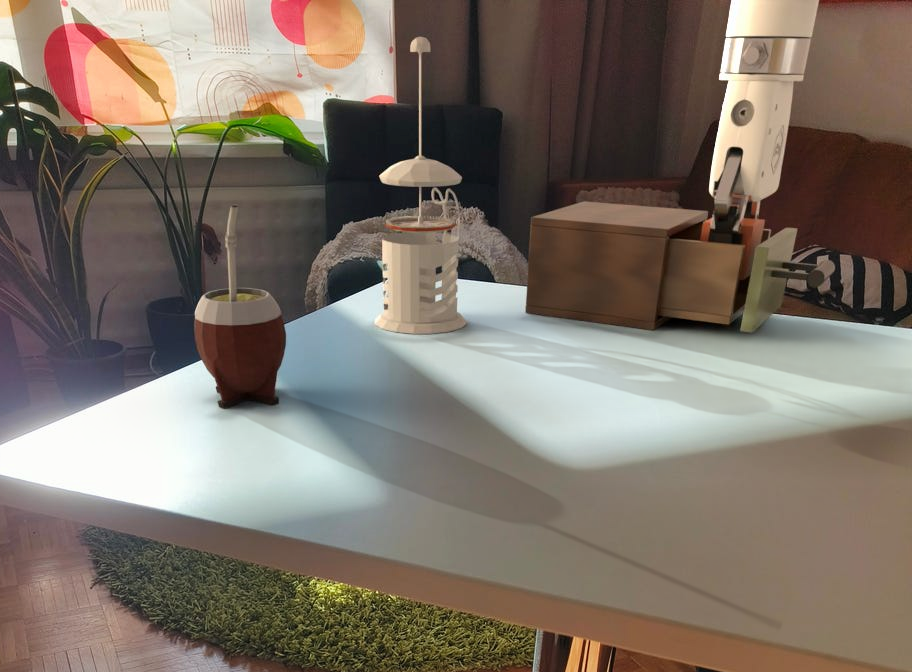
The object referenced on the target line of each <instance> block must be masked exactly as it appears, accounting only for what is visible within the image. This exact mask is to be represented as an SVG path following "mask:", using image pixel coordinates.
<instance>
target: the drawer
mask: <svg viewBox="0 0 912 672" xmlns="http://www.w3.org/2000/svg"><path fill="white" fill-rule="evenodd" d="M702 227H703V224H700V223H697V224H695V225H693V226H691V227H688V228H686V229H684V230H682V231H680V232H678V233H675V234H673V235H671V236H669V237H668V238H669V239H668V246H667V253H666V260H665V267H664V274H663V281H662V288H661V296H660V303H659V310H658V316H666V317H672V318H676V319H682V320H683V319H684V320H690V321H698V322H705V323H713V324H720V325H731V324H732V323H733V322H734V321H735V320H737V319H738V318H739V317H740V316H741V315H742V320H741V325H740V330H739V331H740V332H745V333H751V334H752V333H754V332H755V331H756V330H757V329H758V328H759V327H760V326H762V324H763V323H764V322H766V321H767V320H768V319H769V318H770V317H771V316H772V315H773V314H774V313H775V312H776V311H777V310H779V308H781V306H782V303H783V299H784V295H785V289H786V285H787V282H788V281H787V280H796V281H806V283H807V284H808V286H809V287H811V288H819V287H820V286H822V285H823V284H824V283H825V282H826V281H827V280H828V279H829V278H830V277H831V276H832V275H833V273H834V272H835V270H836V265H835V263H834V262H833V261H832V260H830V259H825V260H823V261H821V262H820V263H819V264H814V263H803V262H795V261H792V256H793V253H794V248H795V243H796V238H797V234H798V227H797V228H795V227H785V228H783V229H782V230H780V231H779V232H777V233H775V234H774V235H772V236H771V233H772V229H770V228H763V233H762V238H761V244H760V245H758V246H756V251H755V256H754V261H753V266H752V272H751V275H749V276H748V277H747V278H745V279H744V280H739V277H740V272H741V267H742V261H743V256H744V250H745V245H738V244H727V243H716V242H705V241H700V239H701V233H702ZM790 270H794V271H790ZM800 271H804V272H800Z"/></svg>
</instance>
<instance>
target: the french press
mask: <svg viewBox="0 0 912 672" xmlns="http://www.w3.org/2000/svg"><path fill="white" fill-rule="evenodd" d="M410 52H411V53H417V54H418V111H419V112H418V155H417V156H415V157H414V158H411V159H406V160H402V161H398V162H397V163H394V164H392V165H391V166H389V167H388V168H387V169H385V170H384V171H383V172H382V173H380V175H379V176H378V177H379V179H380V182H381V183H382V184H385V185H389V186H398V187H413V188H414V187H418V190H419V191H418V192H419V194H418V196H419V198H418V199H419V200H418V202H419V205H418V211H419V215H417V216H416V215H403V216H394V217H391V218H387V219H386V220H385V221H384V224H385V227H386V228H387V229H391V230H394V231H397V232H398V233H397V232H396V233H391V234H386V235H384V236H382V238H381V239H382V241H381V242H382V243H381V244H382V246H381V247H382V248H381V250H382V257H381V258H382V278H383V279H382V289H383V293H382V294H383V311H382V312H380V313H379V315H378V316H377V317H376V318H375V319H374V326H375V327H376V326H377V328H380V329H381V330H386V331H390V332H393V333H401V334H410V335H411V334H412V335H426V334H427V335H428V334H429V335H432V334H442V333H447V332H452V331H456V330H460V329H462V328H464V327H465V326H466V325H467V324H468V323H467V321H466V319H465V318H464V316H463V315H462V314H461V313H460V312H459V311H458V297H457V293H458V291H459V290H458V289H459V288H458V284H457V281H458V279H459V272H458V271H457V268H458V266H459V257H458V253H459V241H460V235H461V212H460V211H461V210H460V206H459V201H458V198H457V196H456V193H455V192H454V191H453V190H452V189H451V188H447V189H446V191H445V199H444V197H443V194H442V192H441V191H440V190H439V188H437V187H448V186H455V185H458V184H460V183H461V182H462V179H463V177H462V175H460V174H459V173H458V172H457V171H455V169H454V168H452V167H450V166H449V165H446V164H444V163H442V162H440V161H438V160H435V159H430V158H427V157H425V156H424V155H422V54H423V53H431V43H430V41H429V40H428V38H427V37H424V36H417V37H414V39H413V40H412V41H411V43H410ZM424 187H425V188H427V187H428V188H429V187H433V188H432V190H431V200H432V202H433V203H434V204H435V205H442V210H443V214H444V215H443V216H440V215H438V216H437V215H435V216H434V215H433V216H432V215H429V216H428V215H422V188H424ZM435 192H436V193H437V194H438V195H439V198H440V200H441V201H439V200H438V201H437V200H436V199H435ZM449 193H450V194H452V196H453V199H454V201H455V206H456V211H457V222H456V221H455V219H454V218H449V217H448V215H447V208H446V204H447V203H448V200H449ZM456 225H457V236H455V235H453V234H447V231H450V230H451V229H454V228H455V227H456ZM439 232H443V233H441V234H442V235H441V236H442V237H441V238H442V240H441V243H437V233H439ZM386 266H387V267H386ZM440 267H441V272H439V273H436V271H437V268H440ZM386 280H387V281H386ZM440 281H441V286H438V287H437V286H436V285H437V284H436V283H438V282H440ZM386 293H387V295H386ZM385 295H386V296H385ZM440 295H441V299H439V300H437V301H436V297H437V296H440Z"/></svg>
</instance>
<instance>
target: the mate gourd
mask: <svg viewBox="0 0 912 672" xmlns="http://www.w3.org/2000/svg"><path fill="white" fill-rule="evenodd" d="M238 212H239V205H238V204H237V203H233V204H231V205H230V207H229V213H228V218H227V226H226V232H225V234H224V240H225V241H224V244H225V246H224V247H225V248H226V250H227V251H226V252H227V270H228V271H227V272H228V288H221V289H216V290H211V291H207V292H206V293H204V294H203V295H202V296H201V297H200V299H199V301H198V303H197V305H196V308H195V311H194V323H193V324H194V325H193V327H194V341H195V344H196V349H197V352H198V354H199V356H200V359H201V361H202V363H203V365H204V367H205V369H206V370H207V372H208V373H209V374H210V375H211V376H212V378H213V379H214V381H215V384H216V386H215V390H216V393H217V394H219V396H220V399H219V400H217V404H218V405H217V406H218V408H220V409H221V408H222V409H228V408H230V407H233V406H235V405H238V404H240V403H242V402H245V401H252V402H253V401H254V402H258V403H262V404H267V405H271V406H274V405H277V404H279V403H280V396H278V395H277V396H276V394H275V393H276V385H277V377H278V372H279V369H280V368H281V366H282V363H283V360H284V356H285V351H286V346H287V332H286V326H285V322H284V320H283V316H282V311H281V309H280V306H279V304H278V302H277V301H276V299H274V297H273V295H272V294H271V293H270V292H268V291H266V290H264V289H260V288H259V289H258V288H252V287H237V265H236V264H237V263H236V261H237V260H236V249H237V246H238V245H237V244H238V243H237V237H238V236H237V234H236V223H237V217H238Z"/></svg>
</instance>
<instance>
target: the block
mask: <svg viewBox="0 0 912 672" xmlns="http://www.w3.org/2000/svg"><path fill="white" fill-rule="evenodd" d="M711 221H712V217H711V218H709V219H707V221H704V222H703V227H702V233H701V239H700V241H705V242H708V237H709V232H710V226H711ZM765 223H766V220H765V219H761V218H758V219H750V218H743V222H742V226H741V230H740V233H739V234H743V237H742V243H741V245H745V250H744V256H743V261H742V267H741V272H740V277H739V280H744V279H745V278H747V277H748V276H749V275H751V272H752V266H753V261H754V256H755V251H756V246H758V245H760V244H761V238H762V233H763V229H765V228H764V227H765Z"/></svg>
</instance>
